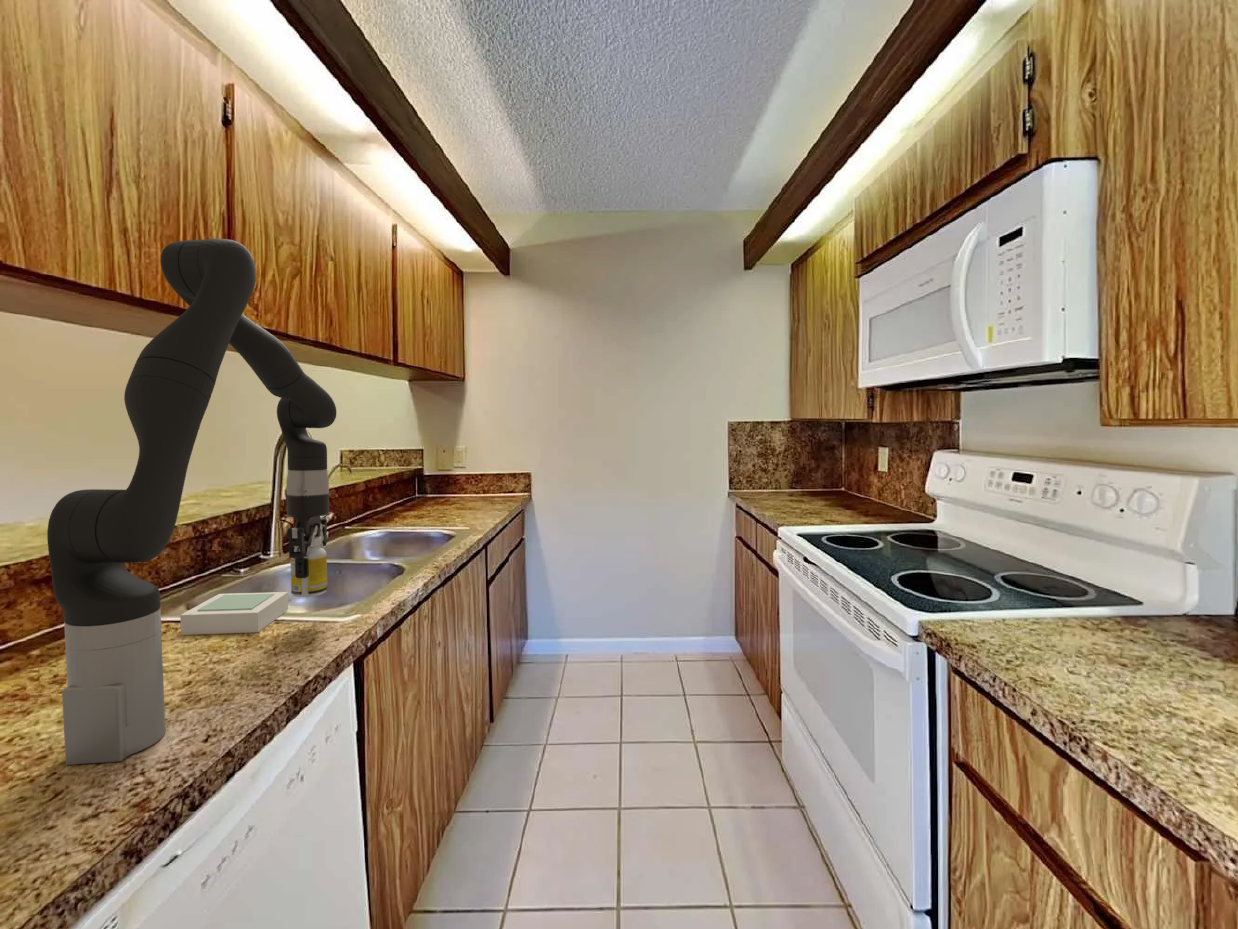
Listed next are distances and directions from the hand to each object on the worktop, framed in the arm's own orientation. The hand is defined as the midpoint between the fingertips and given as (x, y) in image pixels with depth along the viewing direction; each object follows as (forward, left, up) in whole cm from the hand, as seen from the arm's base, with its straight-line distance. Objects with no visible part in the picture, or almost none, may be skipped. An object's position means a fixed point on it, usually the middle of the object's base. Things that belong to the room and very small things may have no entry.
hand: (309, 573), depth 115 cm
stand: (+5, +16, -11) cm, 20 cm away
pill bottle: (0, 0, -4) cm, 4 cm away
